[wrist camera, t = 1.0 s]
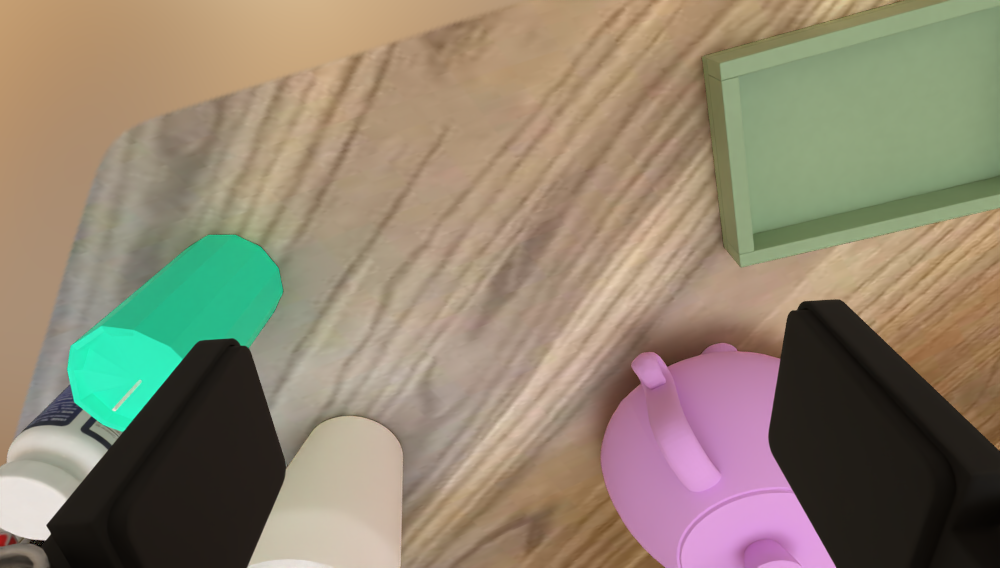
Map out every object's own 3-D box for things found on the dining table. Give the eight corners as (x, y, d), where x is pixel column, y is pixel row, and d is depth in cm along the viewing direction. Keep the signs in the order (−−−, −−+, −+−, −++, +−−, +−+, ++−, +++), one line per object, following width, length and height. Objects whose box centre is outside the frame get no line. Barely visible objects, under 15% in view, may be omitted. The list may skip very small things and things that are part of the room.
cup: (305, 382, 39) (229, 536, 28) (438, 423, 40) (413, 584, 30) (277, 479, 43) (200, 647, 32) (399, 513, 44) (364, 685, 33)
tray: (701, 56, 30) (719, 63, 27) (1043, -39, 28) (1096, -40, 25) (723, 247, 34) (740, 268, 32) (1017, 177, 32) (1060, 194, 30)
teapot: (873, 461, 41) (1009, 639, 30) (694, 550, 46) (755, 735, 34) (727, 254, 35) (832, 386, 23) (531, 381, 39) (541, 544, 28)
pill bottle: (86, 408, 40) (-34, 533, 31) (89, 340, 38) (-39, 455, 29) (174, 432, 41) (82, 559, 32) (183, 367, 38) (87, 486, 30)
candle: (287, 246, 35) (189, 366, 24) (279, 333, 37) (187, 476, 26) (180, 222, 34) (30, 334, 23) (179, 312, 37) (44, 449, 26)
